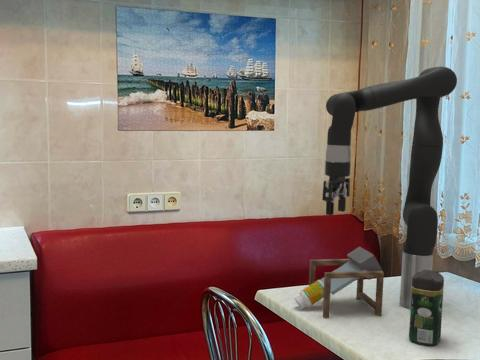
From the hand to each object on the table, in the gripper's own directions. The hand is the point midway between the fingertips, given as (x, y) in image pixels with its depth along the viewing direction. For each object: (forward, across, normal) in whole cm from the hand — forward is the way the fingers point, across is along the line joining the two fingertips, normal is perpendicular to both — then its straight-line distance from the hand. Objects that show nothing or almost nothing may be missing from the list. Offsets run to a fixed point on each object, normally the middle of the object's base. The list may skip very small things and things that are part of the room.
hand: (335, 213), depth 164 cm
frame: (+30, -3, +3) cm, 30 cm away
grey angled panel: (+22, -5, +5) cm, 23 cm away
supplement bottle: (+23, +1, -2) cm, 23 cm away
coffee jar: (+30, +6, +30) cm, 43 cm away
